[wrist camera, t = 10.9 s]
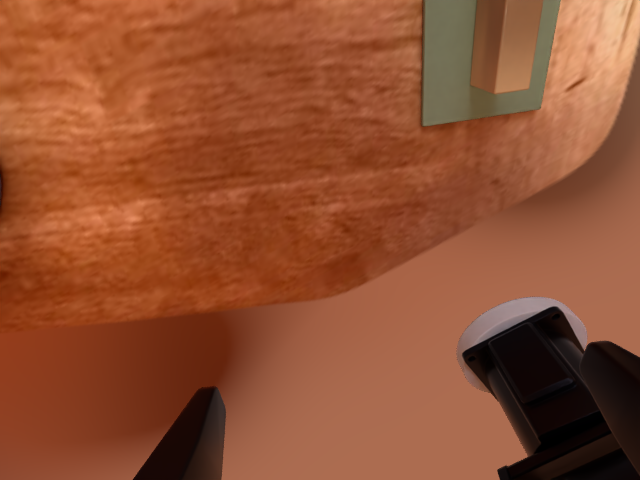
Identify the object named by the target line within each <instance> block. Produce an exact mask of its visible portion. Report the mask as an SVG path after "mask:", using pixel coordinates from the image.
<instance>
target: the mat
mask: <svg viewBox="0 0 640 480" xmlns="http://www.w3.org/2000/svg"><path fill="white" fill-rule="evenodd" d="M559 6H560V0H544V1H543V7H542V13H541V19H540V25H539V31H538V37H537V43H536V50H535V56H534V62H533V68H532V74H531V80H530V86H529V89H527V90H522V91H515V92H509V93H502V94H493V93H490V92H487V91H485V90H482V89H479V88H477V87H474V86H471V85H470V80H471V68H472V56H473V44H474V32H475V20H476V8H477V0H423V36H422V97H421V126H423V127H425V126H432V125H438V124H445V123H452V122H458V121H465V120H472V119H478V118H485V117H491V116H498V115H505V114H511V113H518V112H525V111H531V110H538V109H540V108H541V103H542V98H543V92H544V87H545V81H546V76H547V71H548V65H549V60H550V54H551V49H552V43H553V38H554V33H555V27H556V22H557V16H558V11H559Z"/></svg>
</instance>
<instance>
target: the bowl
mask: <svg viewBox="0 0 640 480" xmlns="http://www.w3.org/2000/svg"><path fill="white" fill-rule="evenodd" d="M1 192H2V184H1V176H0V205H1Z"/></svg>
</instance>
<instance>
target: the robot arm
mask: <svg viewBox="0 0 640 480" xmlns="http://www.w3.org/2000/svg"><path fill="white" fill-rule="evenodd" d="M462 357H463V360H464V362H465V363H466V364H467V365H468V367H469V368H470V369H471V370H472V371H473V372H474V374H475V375H476V376H477V377H478V378H479V379H480V381H481V382H482V383H483V384H484V385H485V387H486V388H487V389H488V390H489V391H490V392H491V394H492V395H493V396H494V397H495V398H496V399H497V401H499V403H500V405H501V406H502V408H503V410H504V412H505V414H506V416H507V418H508V420H509V421H510V423H511V425H512V427H513V429H514V431H515V432H516V434H517V436H518V438H519V440H520V442H521V444H522V446H523V448H524V449H525V451H526V453H527V455H528V457H527V458H525V459H523V460H521V461H519V462H516V463H514V464H512V465H510V466H504V467H502V468H499V469H498V470H497V471H498V475H499V478H500V480H640V357H638V356H636V355H634V354H633V353H631V352H629V351H627V350H625V349H623V348H622V347H620V346H618V345H616V344H614V343H612V342H609V341H598V342H591V343H589V344H588V345H587V347H586V349H585V351H584V349H583V347H582V346H581V344H580V342H579V340H578V338H577V336H576V335H575V333H574V331H573V329H572V327H571V325H570V323H569V322H568V320H567V318H566V316H565V314H564V313H563V311H562V310H561V309H560V308H559V307H557V306H552V307H549V308H547V309H545V310H543V311H541V312H539V313H537V314H535V315H533V316H531V317H529V318H528V319H526V320H524V321H522V322H520V323H518V324H516V325H514V326H512V327H510V328H508V329H506V330H504V331H502V332H500V333H498V334H496V335H494V336H492V337H490V338H488V339H486V340H484V341H482V342H480V343H478V344H476V345H474V346H473V347H471V348H469V349H467V350H465V351H464V352H463V353H462ZM225 418H226V410H225V405H224V403H223V400H222V398H221V395H220V392H219V390H218V388H217V387H216V386H210V387H202V388H200V389H198V390H197V392H196V393H195V394H194V396H193V397H192V398H191V400H190V401H189V403H188V404H187V405H186V407H185V408H184V409H183V411H182V412H181V414H180V415H179V416H178V418H177V419H176V421H175V422H174V423H173V425H172V426H171V427H170V429H169V430H168V432H167V433H166V434H165V436H164V437H163V439H162V440H161V441H160V443H159V444H158V446H157V447H156V448H155V450H154V451H153V452H152V454H151V455H150V457H149V458H148V459H147V461H146V462H145V464H144V465H143V466H142V468H141V469H140V470H139V472H138V473H137V475H136V476H135V477H134V479H133V480H221V477H222V464H223V448H224V434H225Z"/></svg>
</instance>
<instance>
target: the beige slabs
mask: <svg viewBox="0 0 640 480" xmlns="http://www.w3.org/2000/svg"><path fill="white" fill-rule="evenodd" d="M543 1H544V0H477V8H476V20H475V32H474V44H473V56H472V68H471V80H470V85H471V86H474V87H477V88H479V89H482V90H485V91H487V92H490V93H493V94H502V93H509V92H515V91H522V90H527V89H529V86H530V80H531V74H532V68H533V62H534V56H535V50H536V43H537V37H538V31H539V25H540V19H541V13H542V7H543Z"/></svg>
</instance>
